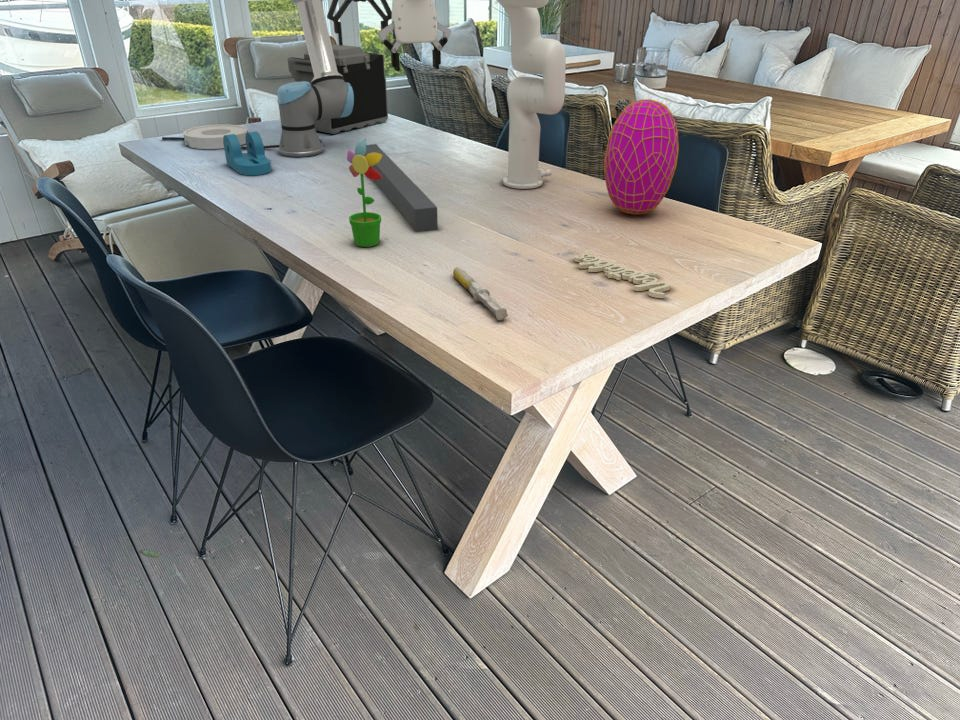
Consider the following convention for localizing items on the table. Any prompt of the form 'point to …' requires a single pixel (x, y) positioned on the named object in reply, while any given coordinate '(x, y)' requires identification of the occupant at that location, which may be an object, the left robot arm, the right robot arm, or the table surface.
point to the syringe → (479, 293)
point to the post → (404, 193)
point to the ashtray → (213, 135)
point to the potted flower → (364, 222)
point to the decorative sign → (625, 274)
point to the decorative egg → (641, 156)
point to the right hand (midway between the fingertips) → (416, 69)
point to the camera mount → (246, 154)
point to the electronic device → (364, 80)
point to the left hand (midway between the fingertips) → (362, 44)
